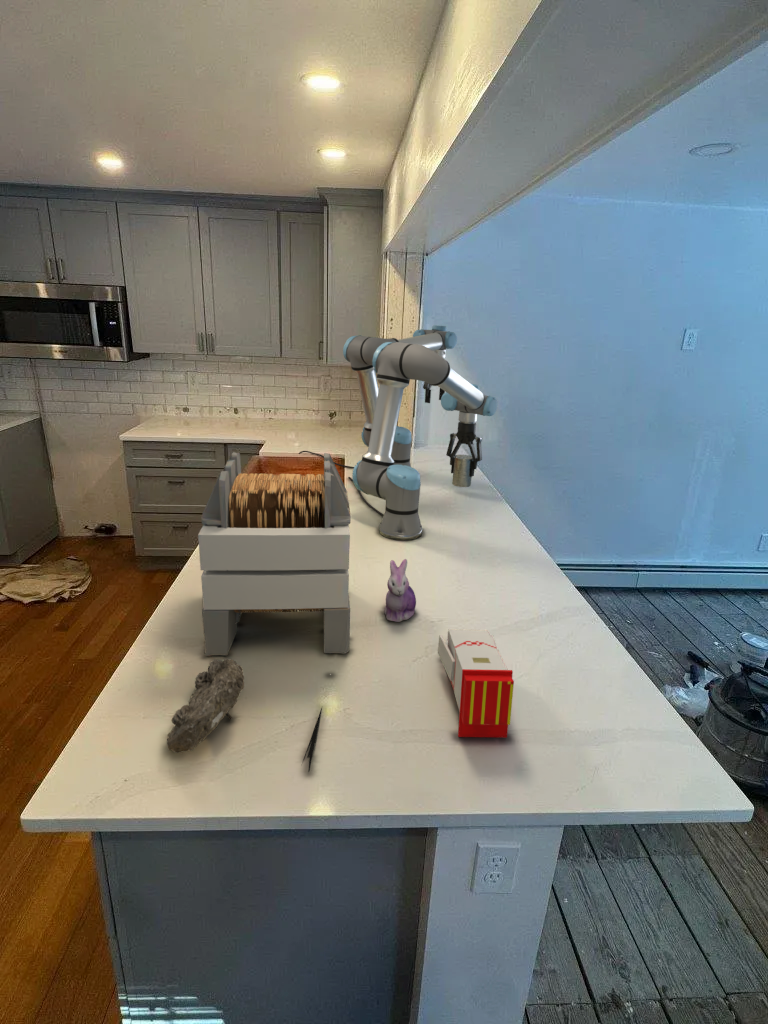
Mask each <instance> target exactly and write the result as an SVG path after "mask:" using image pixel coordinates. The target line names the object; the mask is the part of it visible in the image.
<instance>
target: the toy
mask: <svg viewBox="0 0 768 1024" xmlns="http://www.w3.org/2000/svg"><path fill="white" fill-rule="evenodd" d="M446 640H447V643H446V641H445V639H444V636H443V635H442V634H439V637H438V646H437V656H438V657H439V659H440V661H441V663H442V666H443V668H444V670H445V672H446V674H447V677H448V679H449V681H450V684H451V687H452V690H453V693H454V697H455V701H456V705H457V708H458V711H459V714H458V715H459V716H458V730H457V731H458V732H457V737H458V738H508V731H509V726H510V725H511V717H512V707H513V697H514V696H513V695H514V684H515V680H514V679H513V673H514V671H513V670H512V669H508V667H507V665H506V662H505V661H504V659H503V658H502V655H501V653H500V651H499V649H498V647H497V643H496V639H495V637H494V635H493V634H491V632H490V631H489V629H467V628H466V629H465V628H463V629H461V628H460V629H459V628H448V630H447V639H446Z"/></svg>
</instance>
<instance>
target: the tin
mask: <svg viewBox="0 0 768 1024" xmlns="http://www.w3.org/2000/svg"><path fill="white" fill-rule="evenodd" d="M472 461H473V458H472V455H469V454H456V455H455V458H454V468H453V473H452V478H451V479H452V480H451V485H453V487H454V486H455V487H459V488H469V487H471V485H472V478H473V476H472V477H470V471H471V462H472Z"/></svg>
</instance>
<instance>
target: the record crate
mask: <svg viewBox="0 0 768 1024" xmlns="http://www.w3.org/2000/svg"><path fill="white" fill-rule="evenodd" d="M323 456H324V458H323V473H322V474H321V473H318V474H316V475H315V474H314V473H306V474H303V475H302V474H301V473H280V474H273V473H244V472H243V473H242V466H241V463H242V462H241V453H240V452H235V451H233V452H231V455H230V457H229V459H227V460H226V463H225V466H224V468H223V470H222V471H220V474H219V475H218V477H217V479H216V482H215V483H214V486H213V489H212V491H211V494H210V495H209V498H208V499H207V502H206V505H205V507H204V509H203V511H202V514H201V517H200V520H201V524H202V527H201V529H200V530H199V532H198V535H197V538H198V550H199V552H198V553H199V563H200V565H199V567H200V571H202V573H201V575H200V580H201V581H200V582H201V594H202V605H203V607H202V609H201V610H202V611H201V617H202V629H203V638H204V639H203V640H204V649H205V650H204V651H205V652H204V655H205V656H206V657H212V656H228V654H229V652H230V650H231V647H232V645H233V643H234V640H235V638H236V635H237V632H238V623H240V620H241V617H242V614H244V613H250V614H251V613H253V614H254V613H257V614H258V613H298V612H301V613H302V612H308V613H309V612H322V614H323V654H344V655H346V654H347V653H349V652H350V639H351V604H350V595H349V594H350V593H349V586H350V585H349V584H350V572H349V571H350V570H349V569H350V549H351V548H350V547H351V545H350V542H351V533H350V532H351V531H350V526H349V525H350V524H351V520H352V516H351V515H352V514H351V509H350V502H349V496H348V490H347V488H346V486H345V484H344V482H343V480H342V478H341V474H340V473H339V471H338V469H337V465H336V464H334V462H335V461H334V460H333V458H332V455H331V454H330V453H326V452H324V453H323Z"/></svg>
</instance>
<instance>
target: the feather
mask: <svg viewBox="0 0 768 1024" xmlns="http://www.w3.org/2000/svg"><path fill="white" fill-rule="evenodd" d="M329 675H330V676H331V675H332V674H331V673H330V674H329ZM322 710H323V707H321V708H320V710H319V713H318V716H317V719H316V723H315V725H314V728H313V731H312V733H311V737H310V739H309V742H308V745H307V748H306V751H305V754H304V757H303V760H302V763H301V767H302V765H303V763H304V761H305V758H308V759H309V760H308V762H307V763H308V764H307V766H308V771H310V770H311V766H312V765H311V764H312V760H313V757H315V756H314V755H315V751H316V749H315V746H317V739H318V733H319V729H320V722H321V717H322V712H323V711H322ZM313 754H314V755H313ZM306 755H307V757H306Z"/></svg>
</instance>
